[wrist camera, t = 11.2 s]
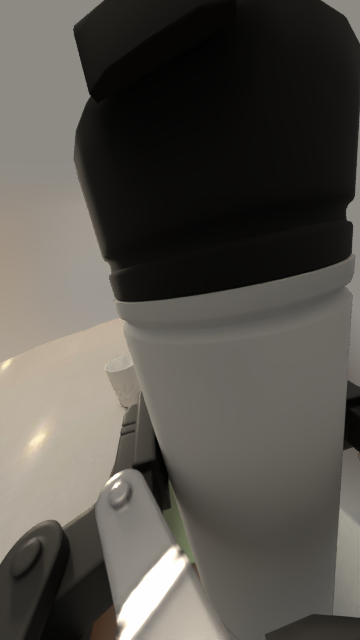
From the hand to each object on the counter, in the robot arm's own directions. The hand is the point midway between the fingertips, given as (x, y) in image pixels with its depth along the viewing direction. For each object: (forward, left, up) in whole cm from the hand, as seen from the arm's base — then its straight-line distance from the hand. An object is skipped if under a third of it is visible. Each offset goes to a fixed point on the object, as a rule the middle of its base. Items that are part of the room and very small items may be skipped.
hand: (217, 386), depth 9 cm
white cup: (+18, -28, -22) cm, 40 cm away
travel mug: (0, +2, -11) cm, 11 cm away
